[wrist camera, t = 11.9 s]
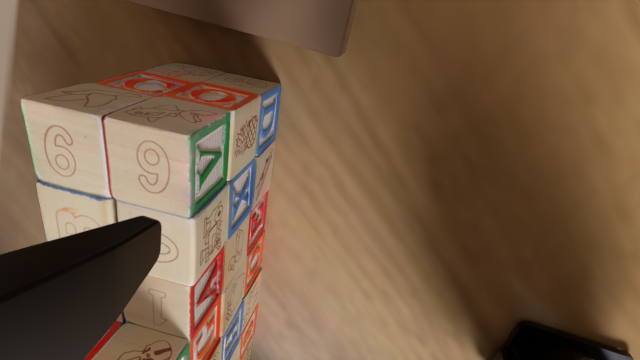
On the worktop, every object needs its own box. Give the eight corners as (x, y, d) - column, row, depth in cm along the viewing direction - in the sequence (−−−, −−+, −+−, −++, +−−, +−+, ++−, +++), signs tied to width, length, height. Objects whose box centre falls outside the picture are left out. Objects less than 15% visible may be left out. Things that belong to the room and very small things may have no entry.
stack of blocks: (173, 58, 21) (-94, 117, 10) (284, 81, 20) (133, 173, 9) (176, 339, 30) (42, 531, 19) (252, 362, 29) (158, 576, 18)
